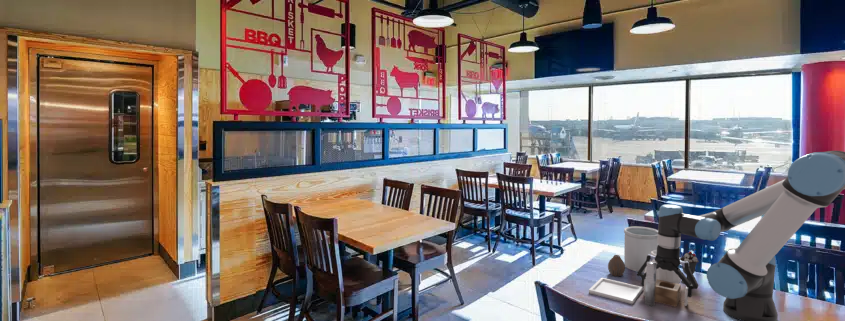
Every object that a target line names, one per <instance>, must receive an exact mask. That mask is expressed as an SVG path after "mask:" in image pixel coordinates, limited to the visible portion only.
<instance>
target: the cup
mask: <svg viewBox="0 0 845 321" xmlns="http://www.w3.org/2000/svg"><path fill="white" fill-rule="evenodd" d="M651 255H653V256H656V255H657V250H654V251H651ZM650 262H654V263H656V264H657V262H656V261H655V259H653V260H652V261H650ZM646 269H647V266H646V268H645V271H644V272H643V274H644V273H646ZM657 279H658V280H663V281H668V282H672V283H677V284H681V283H682V282H681V281H682V280H681V279H680V278H679V276H678V275H677V274H676V273H675V272H674V271H668V270H663V269H661V268H660V267H659V268H658V269H656V280H657Z"/></svg>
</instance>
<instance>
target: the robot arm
mask: <svg viewBox="0 0 845 321" xmlns="http://www.w3.org/2000/svg"><path fill="white" fill-rule="evenodd" d="M843 190H845V151H843V150H827V151H817V152H811V153H807V154H805V155H802V156H800V157H799V158H797V159H796V160H794V161H793V162H792V163H791V164H790V166H789V168H788V170H787V176H786V178H785V179H782V180H780V181H777V182H776V183H774V184H772V185H769V186H767V187H765V188H763V189H761V190H759V191H756V192H754V193H751V194H749V195H748V196H745V197H743V198H741V199H738V200H736V201H734V202H731V203H730V204H727V205H726V206H725V205H724V206H723V207H720V208H718V209H716V210H713V211H711V212H708V213H705V214H704V213H703V214H700V215H695V214H688V213H685V212H684V210H683V207H682V206H680V205H676V204H662V205H661V206H660V207H659V211H658V228H657V230H658V238H657V244H658V245H657V255H656V256H653V255H651V254H648V256H647V259H646V261H645V263H644V264H643V265H642V267H641V268H640V270H639V271H638V272H637V271H636V272H637V273H636V274H635V275H636V276H637V277H640V280H641V281H640V285H641V287H643V296H644V297H645V290H646V273H644V272H643V270H644V269H645V268H646V266H647V262H650V261H652V260H653V259H655V261H656V262H657V267H656V269H658V268H659V267H660V268H661V269H663V270H668V271H674V272H675V273H676V274H677V275H678V276H679V278H680V279H681V281H683V283H684V284H683V283H682V284H683V285H685V288H684V290H685V292H684V304H683V305H684V306H685V307H687V306H688V303H689V298H692V296H693V290H697V289H698V287H699V283H698V282H697V279H696V278H695V275H694V274H693V273H692V271H691V269H690V266H689V261H686V262H684V261H681V260H680V258H681V257H680V256H681V248H680V247H681V242H682V241H681V237H682V235H686V236H690V237H693V238H697V239H700V240H704V241H705V240H707V241H715V240H717V239H718V237H719V236H720V234H721V233H725V232H727V231H729V230H731V229H733V228H735V227H737V226H740V225H742V224H745V223H748V222H750V221H753V220H755V219H757V218H760V217H761V218H760V220H759V221H757V223H756V224H755V226H754V227H753V228H752V230H750V232H749V233H748V234H747V236H746V237H745V238H744V239H743V240H742V241H741V243H740V244H739V245H738V246H737V247H736V248H729V249H728V250H727V251H726V252H725V254H724V255H723V256H722V257H721V258H720V260H719V261H718V262H714V263H713V264H711V265H710V267H709V268H708V269H707V271H706V279H707V283H708V284H709V286H710V288H711V289H712V290H713V291H714V292H715V293H717V294H718V295H719V296H721V297H723V298H725V299H724V301H723V304H722V305H723V306H722V309H723V311H724V313H726V314H727V315H728V316H730V317H732V318H734V319H737V320H739V321H778V316H779V314H778V312H777V308H776V307H777V306H776V305H775V302H774V297H773V295H774V284H775V274H776V267H777V265H776V257H775V256H776V255H777V254H778V253H779V251H781V249H782V248H783V247H784V246H785V245H786V244H787V243H788V241H790V239H791V238H792V237H793V236H794V235H795V233H796V232H797V231H798V230H799V229H800V228H801V227H803V225H804V223H805V222H806V221H807V220H808V219H809V218H810V217H811V215H812V214H813V213H814V212H815V211H816V210H817V209H819V208H827V207H828V206H829V205H830V204H831V203H832V202H833V201H834V200H835V199H836V198H837V197H838V196H839V195H840V194H841V192H842V191H843ZM679 266H682V268H683V267H684V268H685V270H686V273H687V275H688V277H689V279H690V281H691V283H692V284H691V283H690V282H689V280H688V279H687V275H686V274H685V273H684V272H683V271H681V269H680V267H679Z"/></svg>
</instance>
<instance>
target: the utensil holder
mask: <svg viewBox="0 0 845 321" xmlns="http://www.w3.org/2000/svg"><path fill="white" fill-rule="evenodd" d="M623 233H624V252H623V254H624V258H623V259H624V264H625V269H626V268H627V269H628V270H631V271H634V272H638V271H639V270H640V268H641V267H642V265H643V264H644V263H645V261H646V259H647V256H648V254H651V251H654V250H657V245H658V244H657V238H658V229H656V228H652V227H645V226H628V227H624V229H623ZM644 271H645V269H644V270H643V272H642V273H644Z"/></svg>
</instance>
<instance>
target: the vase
mask: <svg viewBox="0 0 845 321" xmlns="http://www.w3.org/2000/svg"><path fill="white" fill-rule="evenodd" d="M607 270H608V272H609V274H610V275H611V276H614V277H621V276H623V275H624V274H625V271H626V267H625V261H624V260H623V259H622V257H621V255H618V254H614V255H613V256H612V257H611V259H610V260H609V261H608V264H607Z"/></svg>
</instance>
